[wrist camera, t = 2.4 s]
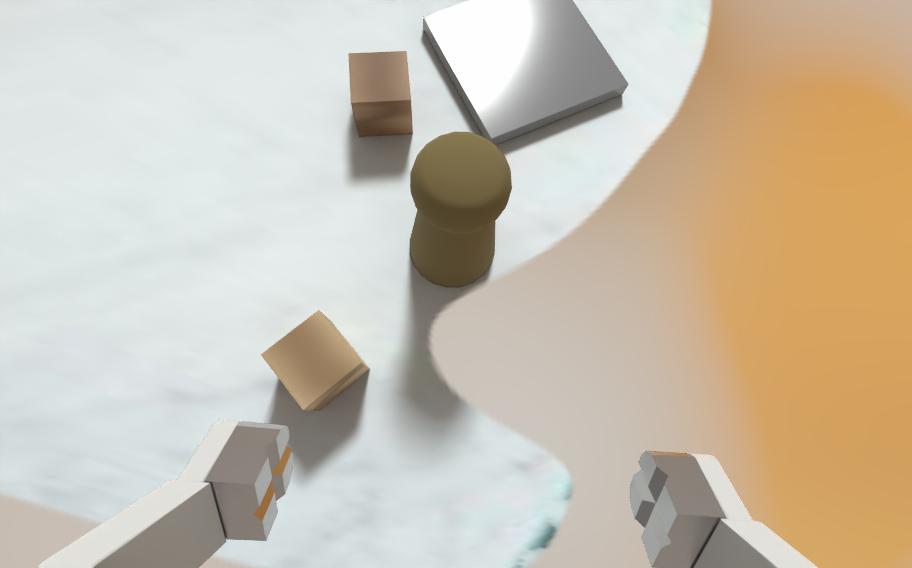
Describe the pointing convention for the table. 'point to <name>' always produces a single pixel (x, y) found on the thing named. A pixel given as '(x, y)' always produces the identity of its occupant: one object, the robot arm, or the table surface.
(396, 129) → the walnut block
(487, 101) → the coaster
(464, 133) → the cork
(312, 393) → the oak block
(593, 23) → the table surface
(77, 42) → the table surface
